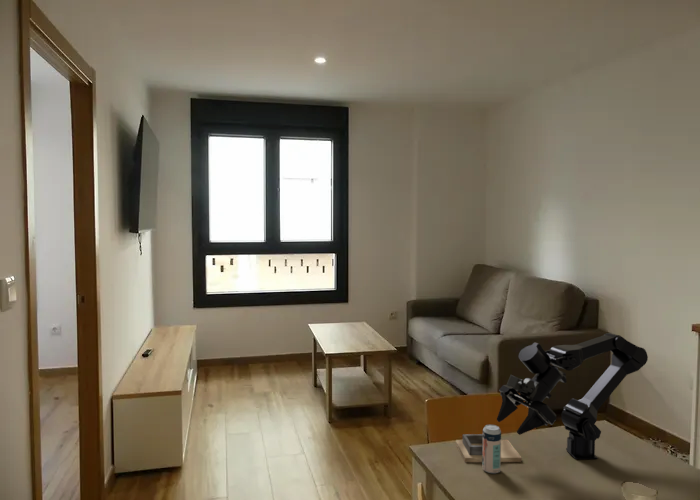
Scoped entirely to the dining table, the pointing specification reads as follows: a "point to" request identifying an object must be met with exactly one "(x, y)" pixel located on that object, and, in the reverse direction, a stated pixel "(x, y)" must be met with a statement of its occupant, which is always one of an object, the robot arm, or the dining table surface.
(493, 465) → the beer can
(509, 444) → the seat board
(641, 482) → the dining table surface
